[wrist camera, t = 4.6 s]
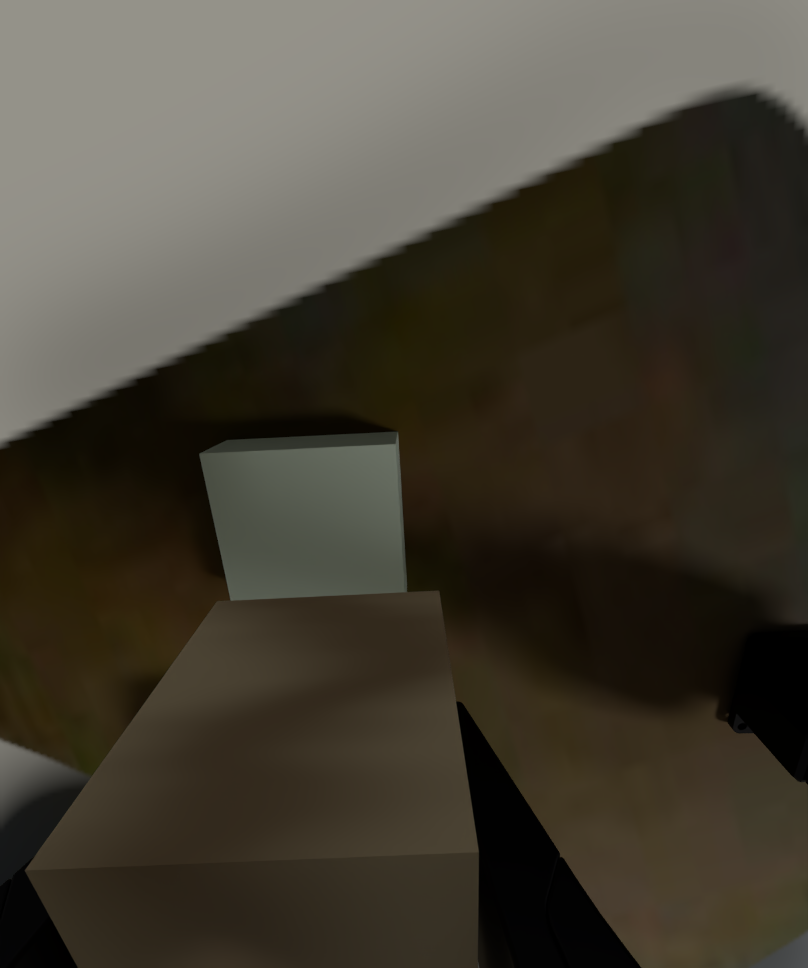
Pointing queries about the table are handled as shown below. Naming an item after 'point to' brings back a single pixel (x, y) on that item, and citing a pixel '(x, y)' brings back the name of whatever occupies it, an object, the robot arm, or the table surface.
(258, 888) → the maple cube
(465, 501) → the table surface
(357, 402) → the table surface
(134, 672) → the table surface
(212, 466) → the foundation slab
